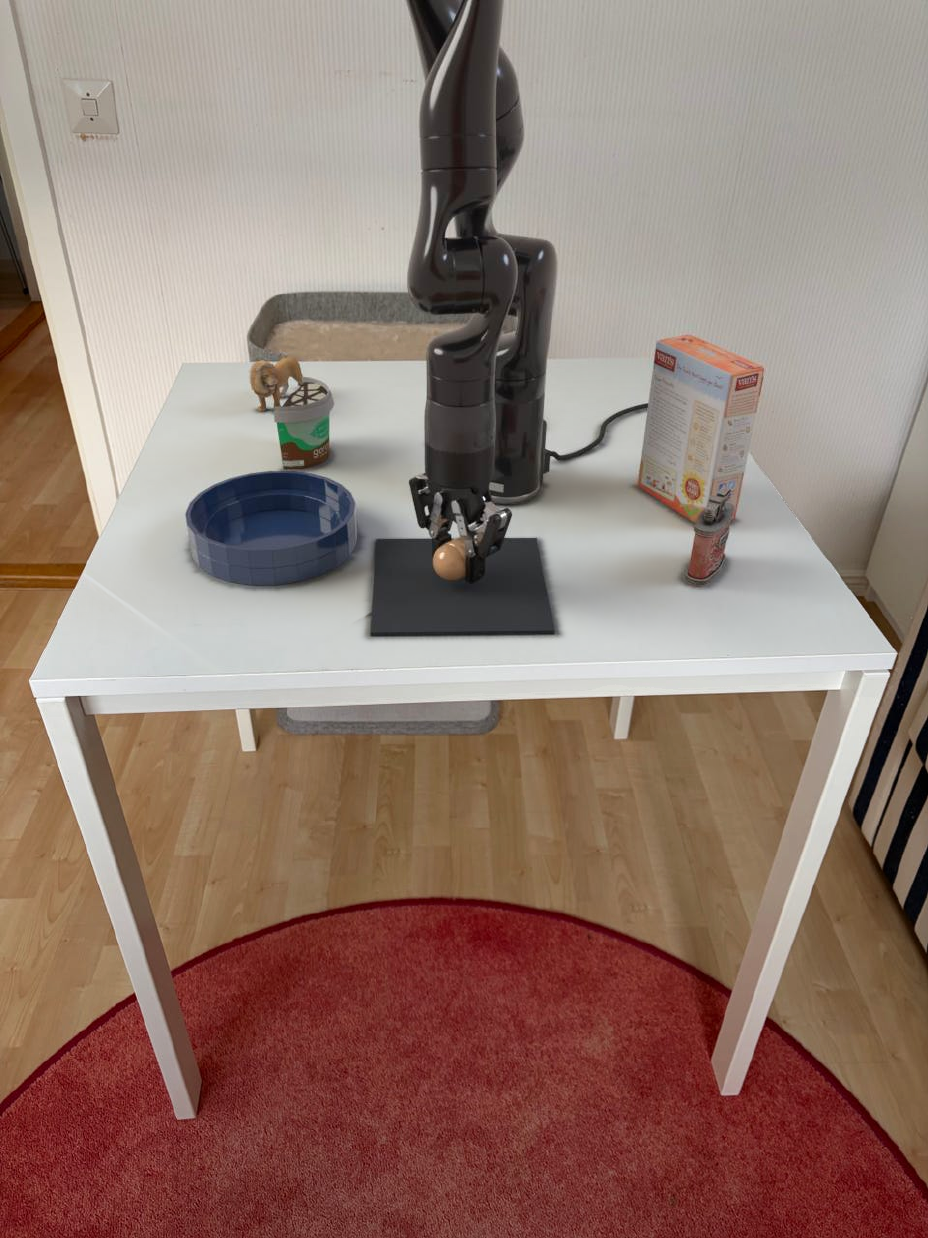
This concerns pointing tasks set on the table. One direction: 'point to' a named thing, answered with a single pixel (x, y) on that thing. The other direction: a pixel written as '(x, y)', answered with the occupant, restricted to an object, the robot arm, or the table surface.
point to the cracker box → (698, 423)
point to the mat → (459, 592)
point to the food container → (305, 425)
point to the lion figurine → (273, 379)
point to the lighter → (710, 539)
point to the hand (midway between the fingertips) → (457, 571)
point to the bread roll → (451, 560)
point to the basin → (272, 527)
